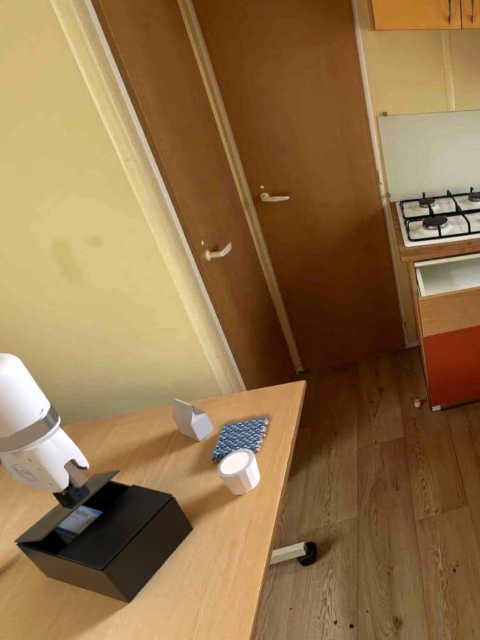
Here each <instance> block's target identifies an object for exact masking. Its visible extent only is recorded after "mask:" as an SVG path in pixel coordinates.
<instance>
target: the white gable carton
mask: <svg viewBox="0 0 480 640" xmlns="http://www.w3.org/2000/svg"><path fill="white" fill-rule="evenodd" d="M172 401H173V406H172V413H171V417H172V419H173V420H174V423H175V425H176V426H177V428H178V431H179V433H180V434H181V435H184V436H186V437H189V438H191V439H193V440H195V441H197V442H202V440H205V438H207V436H209V435H210V434H211V433H213V432H214V431H215V429H214V426H213V424H212V422H211V420H210V418H209V416H208V413H207V412H206V411H203V410H200V409H198V408H197V407H196V406H195V405H194V404H191V403H188V402H187V401H183V400H181V399H179V398H176V397H175V398H173V399H172Z"/></svg>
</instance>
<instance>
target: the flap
mask: <svg viewBox="0 0 480 640" xmlns="http://www.w3.org/2000/svg"><path fill="white" fill-rule="evenodd" d="M120 472H121V470H120V469H115V470H111V471H104V472H99V473H94V474H93V475H91V476H89V478H87V479H88V480H89V481H88V482H87V483H86V484H85V485H86V486H87V488H88V489H89V490H90V494H89V495H88V496H87V497H86V498H84V499H83V500H82V501H81V502H80V503H79V504H78V505H76V506H75V507H74V508H73V509H68V508H64V507H62V505H61V504H60V503H59V502H58V503H57V504H56V505H55V506H54V507H53V508H51V509H50V510H49V511H48V512H47V513H46V514H44V515H43V516H42V517H40V519H38V520H37V521H36V522H35V523H34V524H32V526H30V527H29V528H27V530H25V531H24V532H22V533H21V535H19V536H18V537H17V538H16V539H14V540H13V542H14V544H17V543H19V542H33V541H41V540H42V539H43V538H44V537H46V536H47V535H48V534H49V533H50V532H51V531H52V530H54V529H55V528H56V527H57V526H58V525H59V524H60V523H62V522H63V521H64V520H65V519H66V518H67V517H69V516H70V515H71V514H72V513H73V512H74V511H75V510H77V509H78V508H79V507H80V506H81V505H82V504H83V503H85V502H86V501H87V500H88V499H89V498H90V497H91V496H93V495H94V494H95V493H96V492H97V491H98V490H99V489H101V488H102V487H103V486H104V485H105V484H106V483H107V482H109V481H110V480H111V481H112V480H113V479H114V477H116V476H117V475H118V474H119V473H120Z"/></svg>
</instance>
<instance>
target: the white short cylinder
mask: <svg viewBox="0 0 480 640" xmlns="http://www.w3.org/2000/svg"><path fill="white" fill-rule="evenodd" d="M258 467H259V466H258V463H257V460H256V456H255V453H253V452H252V450H249V449H239V450H236V451H233V452H232V453H230V454H228V455H227V456H226V457H225V458H224V459H222V460H221V461H219V464H218V465H217V469H216V473H217V474H218V476H219V477H220V478H221V480H222V481H223V483H224V484H225V485H226V487H227V488H228V490H229V491H230V492H231V494H232V495H235V496H242V495H245V494H248V493H250V492H251V491H252V490H254V489H255V487H257V485H258V483H260V477H261V476H260V471H259V468H258Z"/></svg>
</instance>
